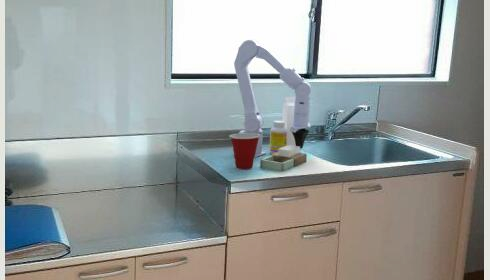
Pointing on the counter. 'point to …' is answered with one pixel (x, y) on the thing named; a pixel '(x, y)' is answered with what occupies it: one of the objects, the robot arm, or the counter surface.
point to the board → (297, 158)
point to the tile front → (286, 152)
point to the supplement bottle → (277, 136)
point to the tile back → (297, 148)
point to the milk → (289, 118)
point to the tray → (276, 164)
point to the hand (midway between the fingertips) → (299, 148)
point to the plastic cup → (244, 149)
